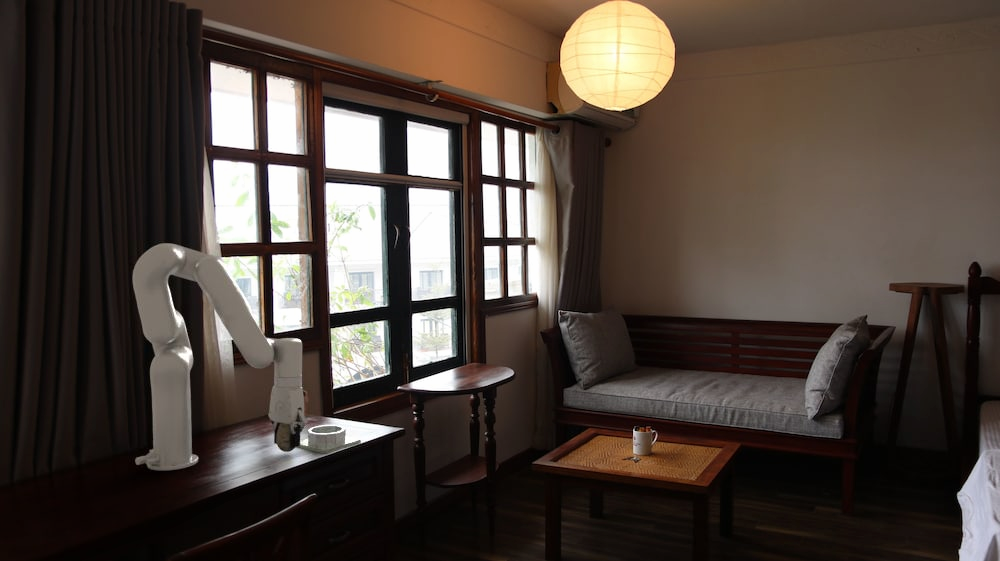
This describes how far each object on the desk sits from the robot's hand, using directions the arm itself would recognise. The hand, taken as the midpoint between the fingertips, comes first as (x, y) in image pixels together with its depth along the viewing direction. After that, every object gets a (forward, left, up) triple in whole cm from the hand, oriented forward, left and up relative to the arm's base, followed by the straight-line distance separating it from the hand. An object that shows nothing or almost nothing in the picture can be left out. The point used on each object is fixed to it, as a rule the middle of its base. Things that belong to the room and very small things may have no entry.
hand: (287, 444), depth 204 cm
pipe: (+30, +35, -3) cm, 47 cm away
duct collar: (+14, -1, -3) cm, 14 cm away
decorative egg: (0, 0, -2) cm, 2 cm away
